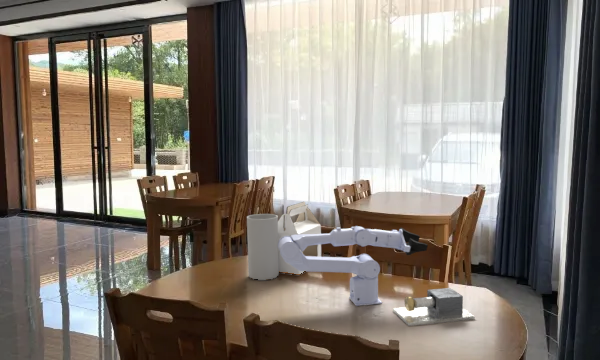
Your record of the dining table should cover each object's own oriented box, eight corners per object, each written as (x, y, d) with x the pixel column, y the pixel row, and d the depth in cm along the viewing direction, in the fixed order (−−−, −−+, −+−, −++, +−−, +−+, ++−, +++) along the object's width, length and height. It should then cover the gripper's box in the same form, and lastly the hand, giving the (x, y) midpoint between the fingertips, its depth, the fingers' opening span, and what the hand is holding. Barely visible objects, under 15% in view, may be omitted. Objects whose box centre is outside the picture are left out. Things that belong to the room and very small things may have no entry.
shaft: (410, 313, 146) (410, 299, 145) (404, 308, 150) (404, 294, 150) (453, 309, 149) (453, 295, 148) (446, 304, 153) (447, 291, 153)
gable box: (298, 275, 194) (297, 208, 191) (271, 271, 200) (269, 206, 197) (321, 262, 213) (320, 201, 210) (296, 259, 219) (295, 199, 216)
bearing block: (408, 325, 142) (408, 303, 141) (393, 311, 154) (393, 290, 153) (474, 319, 146) (475, 297, 145) (454, 305, 158) (455, 285, 157)
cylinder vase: (278, 280, 187) (276, 219, 185) (246, 281, 188) (245, 219, 185) (279, 271, 200) (278, 213, 197) (250, 272, 200) (248, 214, 197)
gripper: (394, 236, 154) (433, 240, 156) (382, 220, 168) (418, 224, 170) (390, 255, 156) (428, 260, 158) (378, 238, 170) (413, 242, 172)
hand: (422, 243), depth 164 cm, fingers open, 7 cm apart
